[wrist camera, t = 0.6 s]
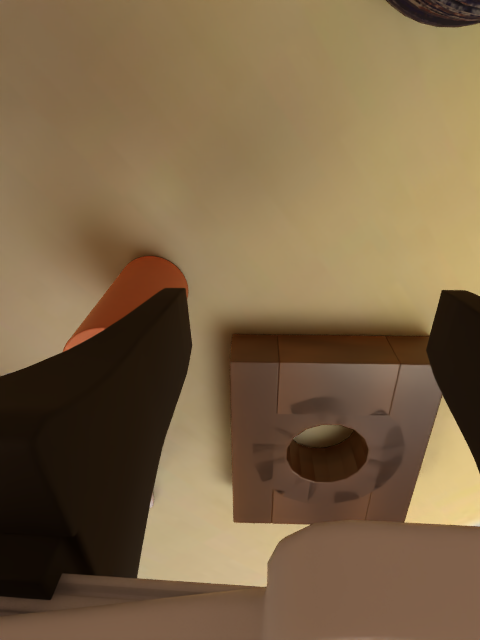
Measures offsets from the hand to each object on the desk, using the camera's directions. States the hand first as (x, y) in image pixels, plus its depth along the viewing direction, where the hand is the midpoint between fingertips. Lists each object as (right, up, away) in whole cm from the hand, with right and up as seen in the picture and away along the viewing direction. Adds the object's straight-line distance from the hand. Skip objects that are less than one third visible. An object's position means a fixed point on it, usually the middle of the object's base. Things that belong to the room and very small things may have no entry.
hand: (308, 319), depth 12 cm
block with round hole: (+4, -7, +16) cm, 18 cm away
